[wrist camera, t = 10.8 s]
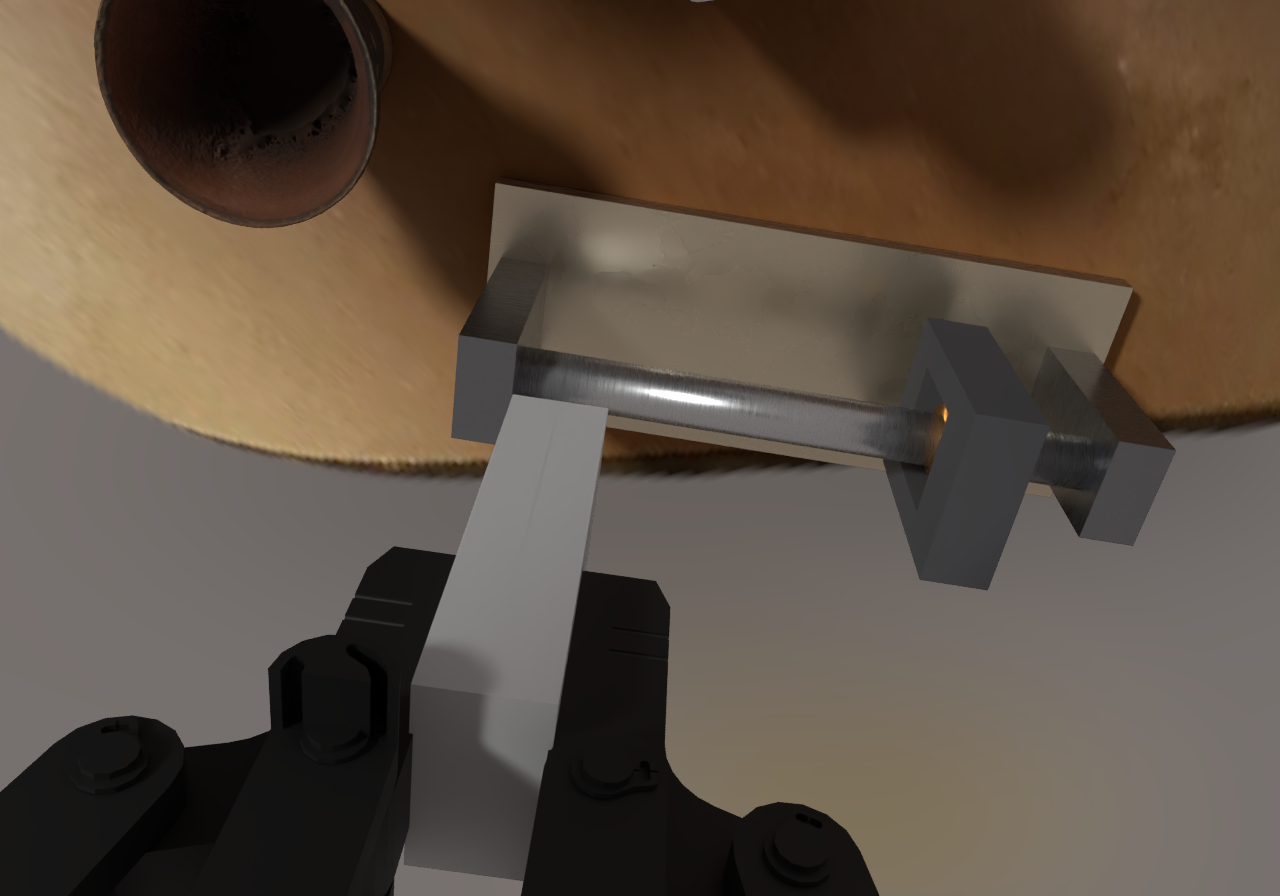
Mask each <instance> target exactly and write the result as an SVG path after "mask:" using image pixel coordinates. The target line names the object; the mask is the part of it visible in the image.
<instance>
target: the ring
mask: <svg viewBox="0 0 1280 896" xmlns="http://www.w3.org/2000/svg"><path fill="white" fill-rule="evenodd" d="M939 404H944V405H945V407H946V409H947V411H948V413H949V415H948V418H947V421H946V424H945V427H944V430H943V433H942V436H941V439H940V442H939V445H938V448H937V451H936V454H935V458H934V461H933V464H932V467H931V470H930V473H929V475H927V473H926V471H925V468H924V465H918V464H912V463H906V462H900V461H893V460H887V459H883V463H884V466H885V470H886V473H887V476H888V479H889V482H890V486H891V488H892V492H893V495H894V498H895V502H896V505H897V508H898V511H899V514H900V518H901V521H902V524H903V527H904V531H905V534H906V537H907V540H908V543H909V546H910V550H911V553H912V556H913V559H914V563H915V566H916V569H917V572H918V575H919V579H920V580H925V581H932V582H938V583H944V584H951V585H957V586H963V587H970V588H976V589H983V590H988V588H989V585H990V582H991V580H992V577H993V575H994V572H995V570H996V567H997V564H998V562H999V559H1000V557H1001V554H1002V551H1003V549H1004V546H1005V543H1006V541H1007V538H1008V536H1009V533H1010V530H1011V528H1012V525H1013V523H1014V520H1015V517H1016V515H1017V512H1018V510H1019V507H1020V504H1021V502H1022V499H1023V496H1024V494H1025V491H1026V489H1027V486H1028V483H1029V481H1030V478H1031V476H1032V473H1033V470H1034V468H1035V465H1036V462H1037V460H1038V457H1039V455H1040V452H1041V449H1042V447H1043V444H1044V442H1045V439H1046V436H1047V434H1048V431H1049V428H1050V424H1049V423H1048V421H1047V420H1046V418H1045V417H1044V415H1043V414H1042V412H1041V410H1040V409H1039V407H1038V406H1037V404H1036V403H1035V401H1034V400H1033V398H1032V396H1031V395H1030V393H1029V392H1028V390H1027V389H1026V387H1025V386H1024V384H1023V382H1022V381H1021V379H1020V378H1019V376H1018V375H1017V373H1016V372H1015V370H1014V368H1013V367H1012V365H1011V364H1010V362H1009V361H1008V359H1007V358H1006V356H1005V354H1004V353H1003V351H1002V350H1001V348H1000V347H999V345H998V344H997V342H996V341H995V339H994V337H993V336H992V334H991V333H990V331H989V330H988V328H987V327H984V326H978V325H972V324H966V323H959V322H953V321H947V320H941V319H935V318H929V317H926V320H925V323H924V326H923V330H922V333H921V336H920V340H919V343H918V346H917V350H916V353H915V356H914V360H913V363H912V366H911V370H910V373H909V376H908V379H907V383H906V386H905V389H904V393H903V396H902V399H901V403H900V406H899V407H905V408H911V409H917V410H924V411H930V412H934V410H935V409H936V407H937V406H938V405H939Z"/></svg>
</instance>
